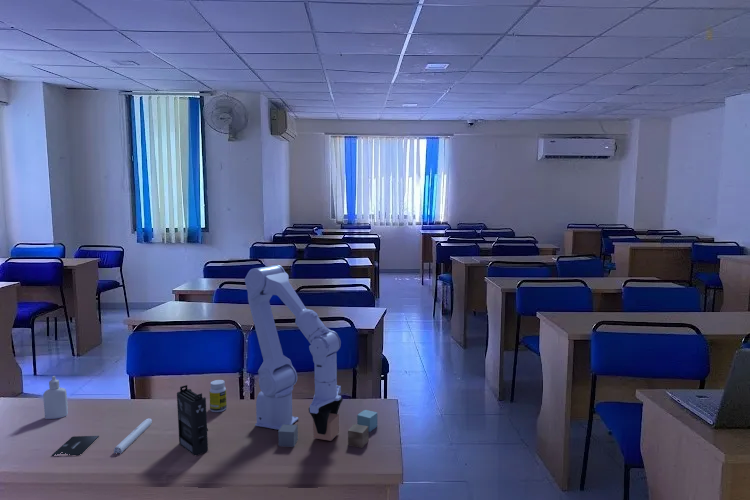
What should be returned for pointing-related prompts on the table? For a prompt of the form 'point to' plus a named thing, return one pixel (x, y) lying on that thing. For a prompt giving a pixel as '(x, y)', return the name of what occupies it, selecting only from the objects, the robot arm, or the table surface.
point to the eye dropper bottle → (55, 400)
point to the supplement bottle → (218, 396)
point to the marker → (133, 436)
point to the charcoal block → (288, 435)
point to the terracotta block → (328, 428)
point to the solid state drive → (76, 445)
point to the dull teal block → (367, 419)
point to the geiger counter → (192, 421)
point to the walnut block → (358, 435)
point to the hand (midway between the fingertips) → (326, 428)
